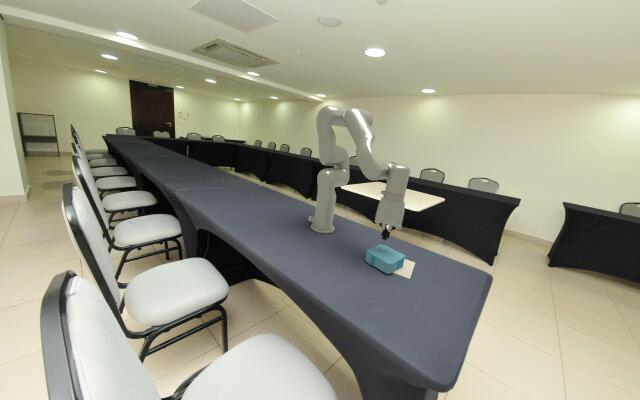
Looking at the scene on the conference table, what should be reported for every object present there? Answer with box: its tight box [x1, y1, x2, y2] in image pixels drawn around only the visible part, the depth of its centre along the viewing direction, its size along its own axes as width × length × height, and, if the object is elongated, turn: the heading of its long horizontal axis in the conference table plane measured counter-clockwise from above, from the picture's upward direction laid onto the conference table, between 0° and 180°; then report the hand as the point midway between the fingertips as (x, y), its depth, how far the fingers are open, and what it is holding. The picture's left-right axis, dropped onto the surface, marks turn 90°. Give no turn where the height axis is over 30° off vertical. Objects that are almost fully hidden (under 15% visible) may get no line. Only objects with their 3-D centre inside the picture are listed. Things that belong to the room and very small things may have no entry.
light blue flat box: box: [364, 244, 406, 275], centre depth 97 cm, size 12×4×12 cm
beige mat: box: [369, 258, 416, 280], centre depth 98 cm, size 16×14×1 cm
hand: (384, 238), depth 98 cm, fingers closed
